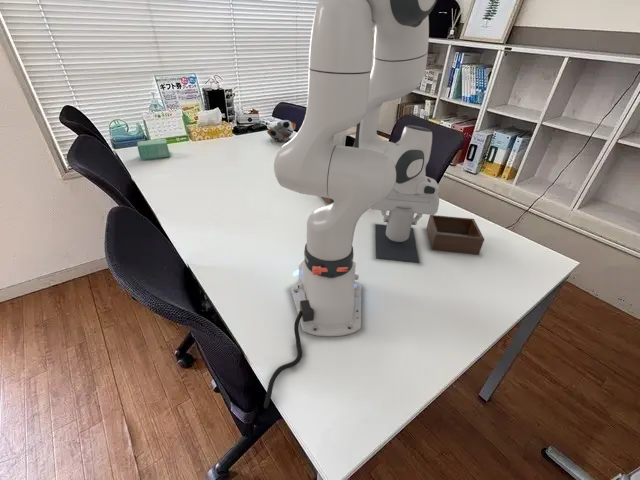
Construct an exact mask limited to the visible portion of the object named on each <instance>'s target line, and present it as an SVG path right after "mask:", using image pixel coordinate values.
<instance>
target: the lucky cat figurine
mask: <svg viewBox="0 0 640 480" xmlns="http://www.w3.org/2000/svg"><path fill="white" fill-rule="evenodd" d="M295 130H296V122H292V121H291V120H288V119H283V120H280V121H278V122H276V124H275V125H273V126H271V127H270V128H268V129H267V131H266V133H267V134H268V135H269V137H270V138H271V139H272V140H275V141H277V142H278V143H281V142H287V141H288V140H289V138H290V137H291V136H292V135H293V133H294V131H295Z"/></svg>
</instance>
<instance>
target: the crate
mask: <svg viewBox="0 0 640 480" xmlns="http://www.w3.org/2000/svg"><path fill="white" fill-rule="evenodd" d="M425 230H426V231H425V232H426V234H427V239H428V241H429V246H430V249H431V251H436V252H437V251H438V252H448V253H458V254H466V255H467V254H468V255H477V256H478V255H480V252H481V250H482V247H483V244H484V242H485V237H484V236H483V234H482V232H481V230H480V228H479V225H478V224H477V222H476V220H475V218H470V217H457V216H447V215H438V214H437V215H436V214H434V215H429V216H428V221H427V225H426V229H425Z"/></svg>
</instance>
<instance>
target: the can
mask: <svg viewBox="0 0 640 480" xmlns="http://www.w3.org/2000/svg"><path fill="white" fill-rule="evenodd" d="M395 208H396V209H394V210H392V211H388V215H389V220H388V222H386V225H387V228H386V236H387V237H388V238H389V239H390V240H392V241H395V242H403V241H405V240H407V239H408V238H409V234H410V230H411V228H412V226H413V225H412V221H413V218H415V213H413V212H412V211H411V209H412V208H411V209H400V208H397V207H395Z"/></svg>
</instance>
